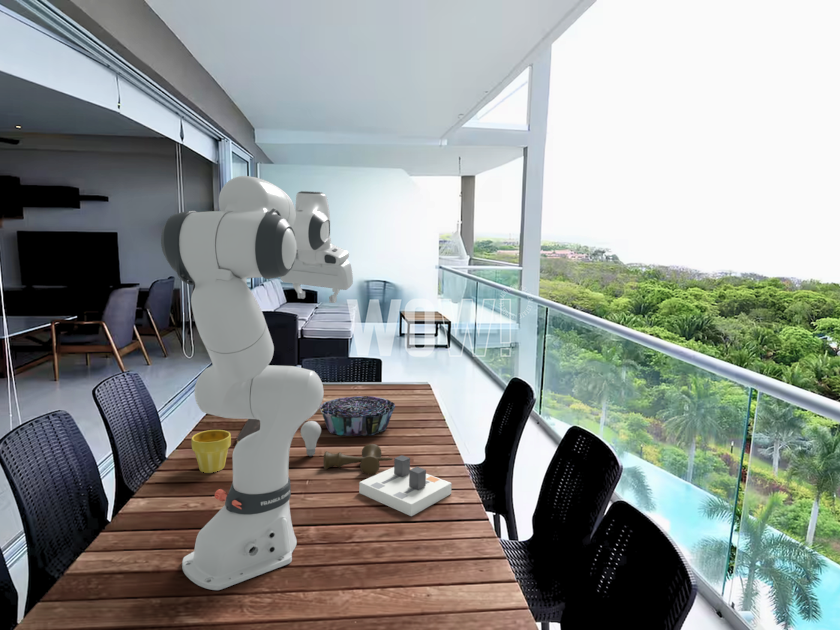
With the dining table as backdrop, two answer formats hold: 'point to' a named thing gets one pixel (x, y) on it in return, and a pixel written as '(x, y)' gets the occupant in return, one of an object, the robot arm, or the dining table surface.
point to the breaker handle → (401, 465)
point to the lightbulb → (310, 436)
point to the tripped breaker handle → (417, 478)
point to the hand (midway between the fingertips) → (317, 300)
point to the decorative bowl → (357, 415)
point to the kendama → (357, 459)
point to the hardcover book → (249, 428)
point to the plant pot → (211, 449)
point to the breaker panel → (404, 491)
